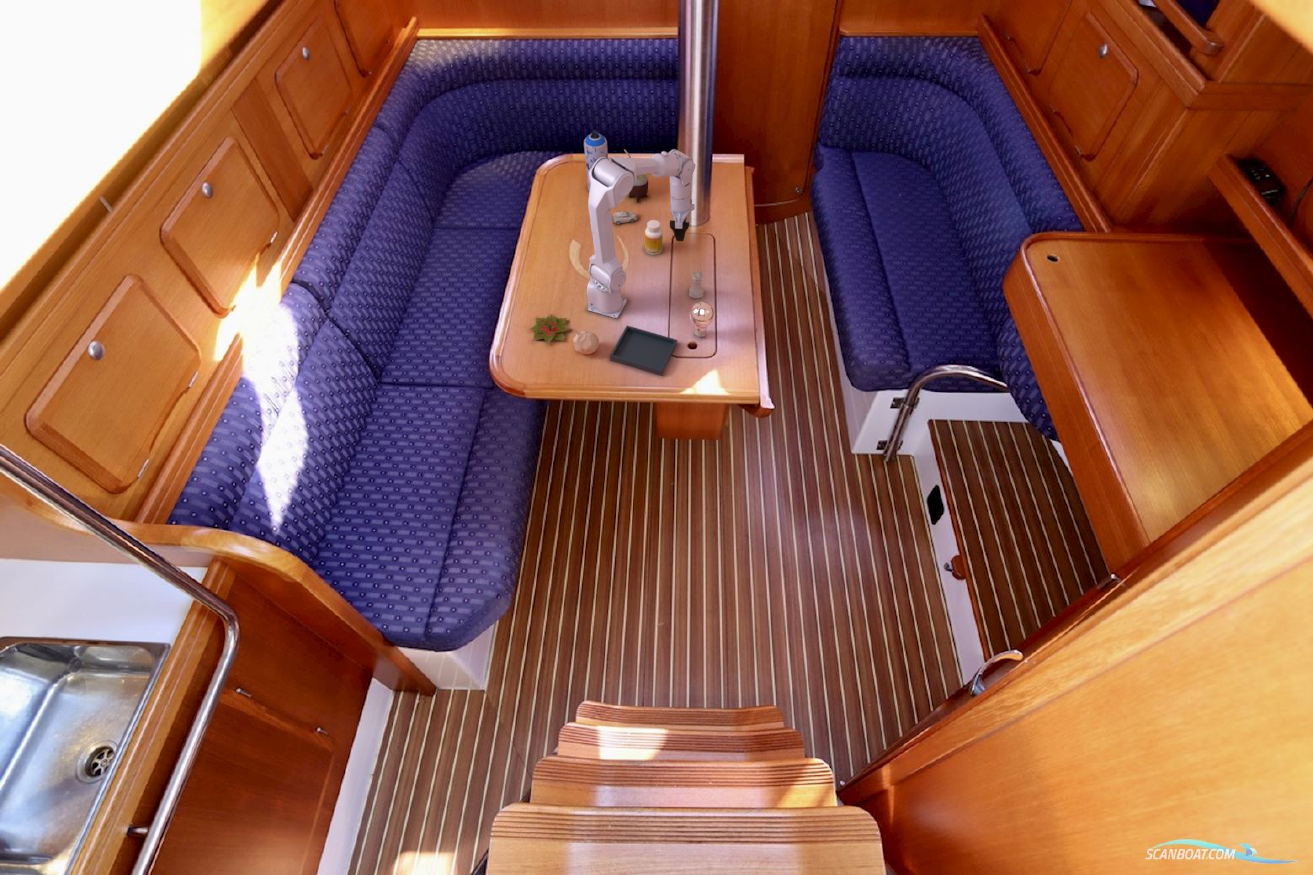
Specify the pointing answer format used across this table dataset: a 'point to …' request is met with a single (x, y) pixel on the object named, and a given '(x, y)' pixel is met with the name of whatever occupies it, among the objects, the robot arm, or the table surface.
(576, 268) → the table surface
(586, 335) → the garlic bulb
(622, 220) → the toy car
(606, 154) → the aerosol can
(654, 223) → the supplement bottle
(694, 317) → the light bulb
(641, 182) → the mate gourd
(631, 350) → the tray
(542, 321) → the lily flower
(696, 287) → the rook chess piece
